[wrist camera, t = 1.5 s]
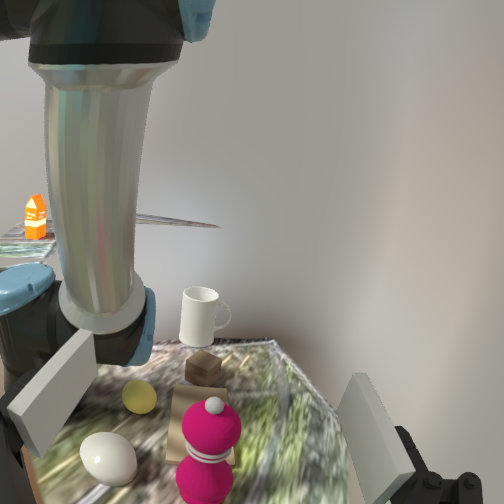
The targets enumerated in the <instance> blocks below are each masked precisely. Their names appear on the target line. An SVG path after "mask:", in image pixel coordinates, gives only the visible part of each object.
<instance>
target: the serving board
mask: <svg viewBox="0 0 504 504" xmlns="http://www.w3.org/2000/svg"><path fill="white" fill-rule="evenodd" d="M210 397H218V398H220V399H221V400H222V401H223V403H225V404H227V405H229V403H228V392H227V389H226V388H213V387H201V386H192V385H183V384H174V387H173V395H172V403H171V412H170V421H169V430H168V440H167V451H166V464H172V465H179V464H180V463H181V461H182V460H183V459H184V458H185V457H187V456H188V455H189V453H188V451H187V449H186V439H185V437H184V435H183V433H182V419H183V416H184V414H185V412H186V411H187V409H188V408H189V407H190V406H192V405H193V404H195V403H197V402H199V401H203V400H207V399H209V398H210ZM226 461H227V463H228V464H229V466H230V468H231V469H234V468H235V458H234V450H233V447H232V451H231V454H230V455H229V457H228V458H226Z"/></svg>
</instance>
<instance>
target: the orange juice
mask: <svg viewBox="0 0 504 504" xmlns="http://www.w3.org/2000/svg"><path fill="white" fill-rule="evenodd" d="M45 235H46V205H45V203H44V201H43V198H42V196H41V194H38V195H34V196H31V198H30V200H29V201H28V203H27V205H26V207H25V238H29V239H36V240H37V239H39V238H41V237H43V236H45Z"/></svg>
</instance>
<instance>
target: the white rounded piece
mask: <svg viewBox="0 0 504 504" xmlns="http://www.w3.org/2000/svg"><path fill="white" fill-rule="evenodd" d="M80 456H81V459H82V461H83V464H84V466H85V468H86V470H87V472H88V474H89V475H90V476H91V477H92V478H93V479H94V480H95V481H97V482H98V483H100V484H103V485H106V486H112V487H117V486H122V485H125V484H128V483H129V482H131V481H132V480H133V479H134V478H135V476H136V474H137V471H138V464H137V459H136V454H135V450H134V448H133V446H132V444H131V443H130V442H129V441H128V440H127V439H125V438H124V437H122V436H120V435H118V434H115V433H111V432H99V433H95V434H92V435H90V436H89V437H87V438H86V439H85V440H84V441H83V443H82V444H81V447H80Z"/></svg>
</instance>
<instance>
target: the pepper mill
mask: <svg viewBox="0 0 504 504" xmlns="http://www.w3.org/2000/svg"><path fill="white" fill-rule="evenodd" d="M182 433H183V435H184V437H185V439H186V449H187V451H188V453H189V455H188V456H187V457H185V458H184V459H183V460H182V461H181V463H180V464H179V466H178V468H177V471H176V482H177V485H178V487H179V489H180V495H181V497H182V498H183V500H184V501H185V502H186V503H187V504H221V503H222V502H223V500H224V498H225V496H226V495H227V494H228V493H229V492H230V490H231V488H232V484H233V474H232V471H231V468H230V466H229V464H228V463H227V461H226V458H228V457H229V455H230V454H231V451H232V447H233V446H234V445H235V444H236V443H237V442H238V439H239V437H240V435H241V421H240V418H239V416H238V414H237V413H236V411H235V410H234V409H233V408H232V407H230V406H229V405H227V404H225V403H223V401H222V400H221V399H220V398H218V397H210V398H209V399H207V400H203V401H199V402H197V403H195V404H193V405H192V406H190V407H189V408H188V409H187V411H186V412H185V414H184V416H183V419H182Z"/></svg>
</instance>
